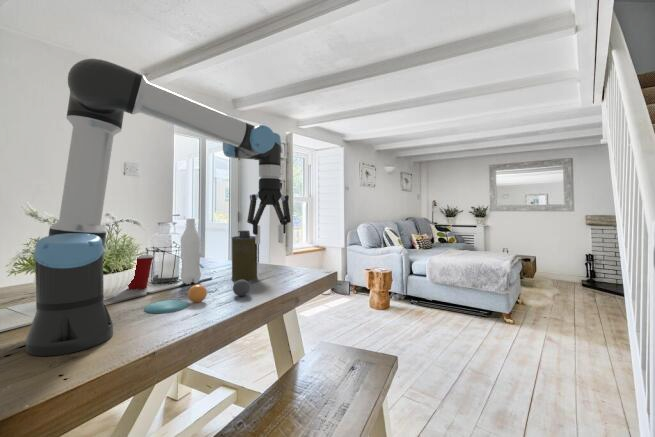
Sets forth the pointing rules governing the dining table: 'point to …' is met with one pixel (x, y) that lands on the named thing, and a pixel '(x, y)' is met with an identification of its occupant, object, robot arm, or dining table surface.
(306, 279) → the dining table surface
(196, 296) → the orange ball
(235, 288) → the dark gray ball
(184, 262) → the water bottle
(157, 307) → the teal mark
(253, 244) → the canister
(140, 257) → the plastic cup
